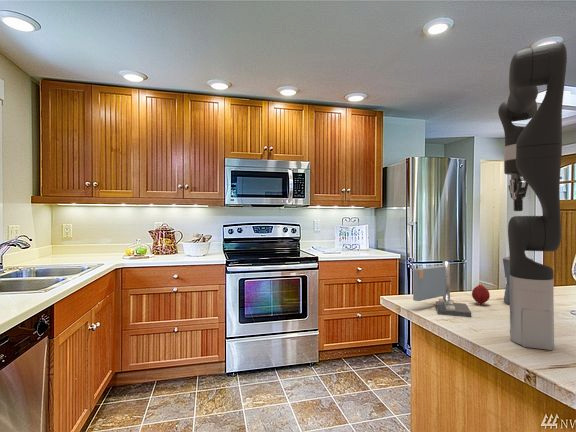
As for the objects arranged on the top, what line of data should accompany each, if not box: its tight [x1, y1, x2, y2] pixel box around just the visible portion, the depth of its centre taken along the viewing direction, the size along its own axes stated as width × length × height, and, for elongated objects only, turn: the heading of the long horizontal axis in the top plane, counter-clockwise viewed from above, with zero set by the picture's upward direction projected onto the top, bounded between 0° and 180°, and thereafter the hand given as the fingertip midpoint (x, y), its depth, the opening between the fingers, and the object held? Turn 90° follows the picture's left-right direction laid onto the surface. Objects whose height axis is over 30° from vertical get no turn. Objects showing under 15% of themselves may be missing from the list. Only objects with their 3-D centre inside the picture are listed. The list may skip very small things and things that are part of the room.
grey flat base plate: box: [435, 300, 472, 318], centre depth 114 cm, size 12×10×2 cm
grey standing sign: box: [412, 265, 446, 302], centre depth 118 cm, size 16×3×11 cm, turn 121°
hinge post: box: [438, 260, 455, 303], centre depth 124 cm, size 5×5×16 cm
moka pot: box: [502, 256, 534, 306], centre depth 123 cm, size 10×15×20 cm, turn 161°
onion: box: [471, 282, 491, 305], centre depth 122 cm, size 6×6×8 cm
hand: (518, 211), depth 108 cm, fingers closed
